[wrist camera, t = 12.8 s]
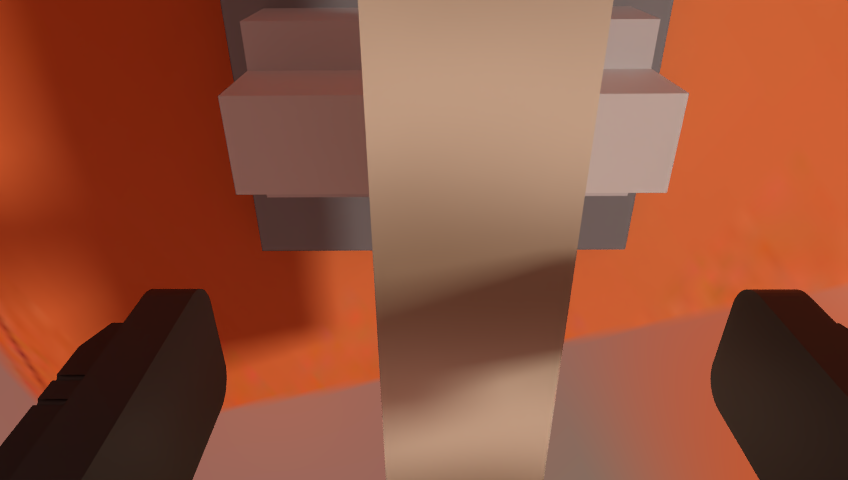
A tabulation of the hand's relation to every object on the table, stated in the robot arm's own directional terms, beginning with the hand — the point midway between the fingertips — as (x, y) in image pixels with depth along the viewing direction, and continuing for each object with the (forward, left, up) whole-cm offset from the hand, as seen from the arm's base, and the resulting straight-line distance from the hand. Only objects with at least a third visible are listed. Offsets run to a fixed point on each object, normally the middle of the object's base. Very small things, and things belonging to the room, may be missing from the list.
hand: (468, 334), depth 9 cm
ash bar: (0, 0, -9) cm, 9 cm away
